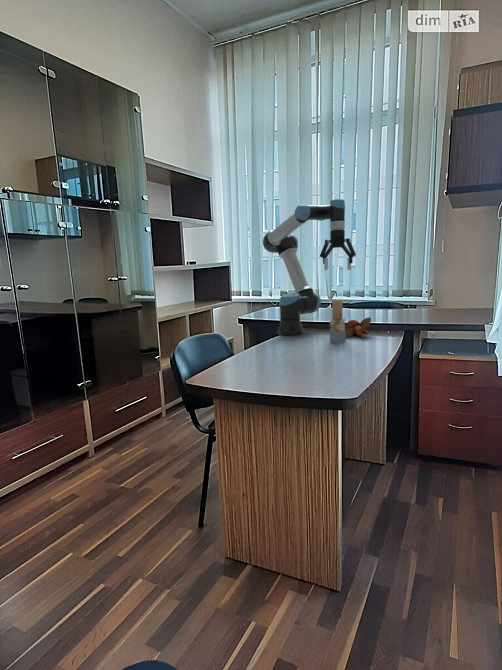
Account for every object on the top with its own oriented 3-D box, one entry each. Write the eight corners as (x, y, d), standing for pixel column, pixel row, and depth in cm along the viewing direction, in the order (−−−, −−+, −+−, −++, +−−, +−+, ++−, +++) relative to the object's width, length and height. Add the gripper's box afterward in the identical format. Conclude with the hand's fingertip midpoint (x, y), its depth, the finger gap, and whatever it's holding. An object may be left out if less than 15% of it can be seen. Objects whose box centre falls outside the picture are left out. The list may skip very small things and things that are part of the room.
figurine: (380, 332, 223) (363, 323, 235) (378, 319, 218) (360, 310, 231) (352, 349, 219) (335, 338, 231) (349, 335, 214) (333, 325, 226)
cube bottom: (329, 342, 213) (329, 330, 212) (335, 339, 217) (335, 328, 216) (340, 343, 209) (340, 331, 208) (345, 341, 214) (345, 329, 213)
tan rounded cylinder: (330, 319, 211) (330, 300, 209) (335, 318, 215) (335, 299, 213) (339, 320, 207) (339, 300, 206) (344, 318, 211) (344, 299, 209)
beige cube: (330, 331, 211) (330, 319, 210) (333, 329, 216) (333, 318, 215) (341, 331, 208) (341, 320, 207) (344, 329, 213) (344, 318, 212)
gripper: (313, 231, 219) (313, 270, 224) (356, 227, 204) (356, 270, 208) (320, 231, 225) (320, 269, 229) (362, 228, 210) (362, 269, 214)
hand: (337, 270), depth 219 cm, fingers open, 13 cm apart
